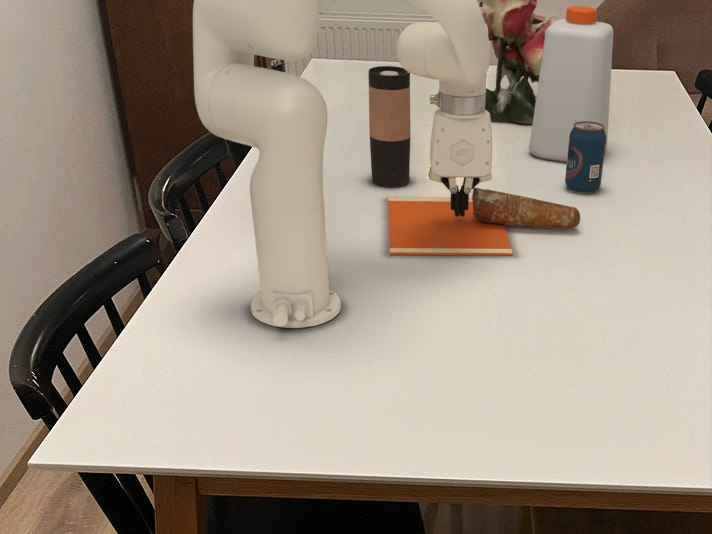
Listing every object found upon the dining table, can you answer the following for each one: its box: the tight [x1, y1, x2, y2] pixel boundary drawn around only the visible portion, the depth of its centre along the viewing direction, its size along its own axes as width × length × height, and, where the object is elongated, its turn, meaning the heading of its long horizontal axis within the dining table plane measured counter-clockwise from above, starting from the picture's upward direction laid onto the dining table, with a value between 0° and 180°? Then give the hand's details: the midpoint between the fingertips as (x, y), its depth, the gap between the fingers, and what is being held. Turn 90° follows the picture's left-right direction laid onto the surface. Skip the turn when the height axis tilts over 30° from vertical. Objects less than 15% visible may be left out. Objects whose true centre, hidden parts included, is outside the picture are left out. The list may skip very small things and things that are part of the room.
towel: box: [388, 196, 514, 257], centre depth 161 cm, size 26×20×1 cm
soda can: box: [564, 121, 608, 195], centre depth 176 cm, size 7×7×12 cm
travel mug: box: [368, 65, 412, 188], centre depth 172 cm, size 8×8×20 cm
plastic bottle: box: [528, 5, 614, 163], centre depth 190 cm, size 15×15×28 cm
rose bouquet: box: [477, 0, 562, 125], centre depth 216 cm, size 26×29×30 cm
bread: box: [471, 187, 581, 229], centre depth 160 cm, size 6×19×6 cm, turn 82°
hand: (459, 213), depth 160 cm, fingers closed
